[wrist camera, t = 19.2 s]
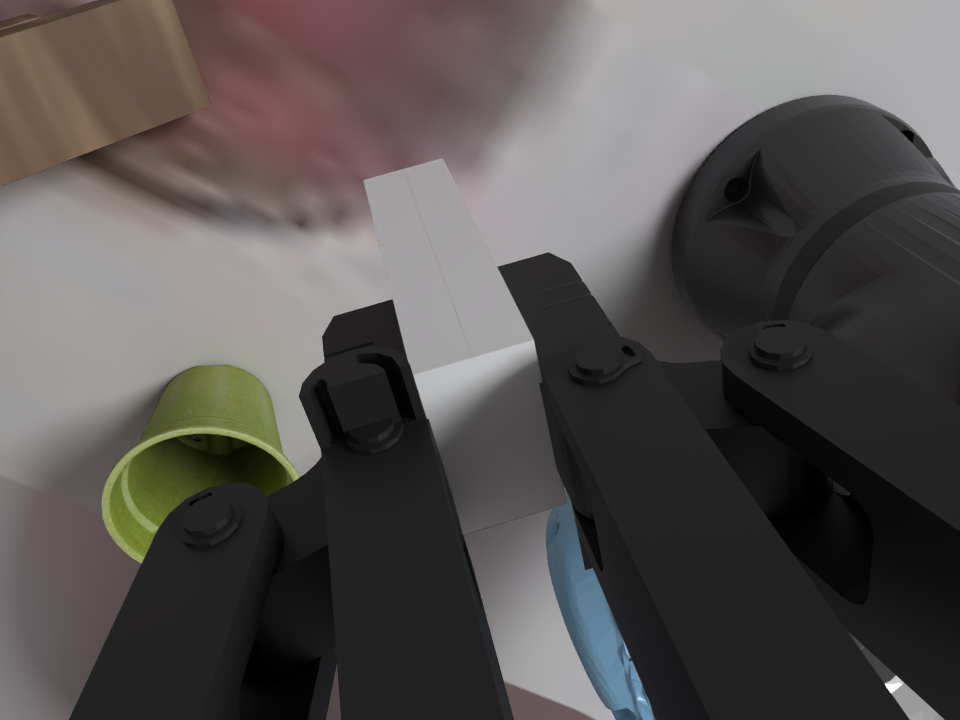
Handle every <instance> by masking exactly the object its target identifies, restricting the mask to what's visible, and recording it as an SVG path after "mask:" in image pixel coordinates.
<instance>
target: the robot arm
mask: <svg viewBox="0 0 960 720" xmlns="http://www.w3.org/2000/svg"><path fill="white" fill-rule="evenodd" d="M364 184H365V188H366V192H367V196H368V201H369V205H370V209H371V213H372V217H373V221H374V225H375V229H376V233H377V237H378V241H379V245H380V249H381V254H382V258H383V262H384V266H385V270H386V274H387V278H388V282H389V286H390V290H391V294H392V298H393V299H392V300H389V301H385V302H382V303H378V304H375V305H371V306H368V307H364V308H361V309H357V310H354V311H350V312H347V313H343V314H340V315H336V316H334V317H333V318H332V320H331V322H330V324H329V325H328V327H327V329H326V331H325V333H324V334H323V336H322V339H323V351H324V357H325V359H324V362H325V363H323V364H322V365H320V366H319V367H317V368H316V369H314V370H313V371H312V373H311V374H310V375H309V376H308V377H307V378H306V380H305V381H304V382H303V383H302V387H301V391H300V394H299V398H300V400H301V403H302V405H303V407H304V410H305V412H306V415H307V417H308V420H309V422H310V424H311V427H312V429H313V432H314V434H315V436H316V439H317V441H318V444H319V446H320V448H321V455H322V457H321V458H320V460H319V461H318V462H317V464H316V465H315V466H313V467H312V468H311V469H310V470H309V471H308V472H307V473H306V474H304V475H303V476H301V477H300V478H298V479H297V480H295V481H294V482H292V483H291V484H289V485H287V486H285V487H283V488H281V489H280V490H278V491H276V492H274V493H272V494H270V495H269V496H267V497H265V495H264V493H263V492H262V490H261V489H260V488H257V487H255V486H253V485H251V484H248V483H224V484H220V485H216V486H213V487H209V488H206V489H204V490H202V491H200V492H198V493H196V494H195V495H193V496H191V497H189V498H187V499H185V500H184V501H183V502H182V503H181V504H180V505H178V506H177V507H176V508H175V509H174V510H172V511H171V512H170V513H169V514H168V515H167V517H166V518H165V520H164V521H163V523H162V524H161V526H160V527H159V528H158V530H157V532H156V534H155V536H154V538H153V540H152V543H151V545H150V547H149V549H148V551H147V553H146V555H145V558H144V560H143V562H142V564H141V566H140V568H139V570H138V573H137V575H136V577H135V579H134V581H133V583H132V585H131V588H130V590H129V592H128V594H127V596H126V598H125V601H124V603H123V605H122V607H121V609H120V611H119V613H118V616H117V618H116V620H115V622H114V624H113V626H112V628H111V631H110V633H109V635H108V637H107V639H106V641H105V644H104V646H103V648H102V650H101V652H100V654H99V656H98V659H97V661H96V663H95V665H94V667H93V669H92V671H91V674H90V676H89V678H88V680H87V682H86V684H85V686H84V689H83V691H82V693H81V695H80V697H79V699H78V702H77V704H76V706H75V708H74V710H73V712H72V714H71V717H70V719H69V720H326V716H327V710H328V706H329V700H330V695H331V690H332V685H333V680H334V674H335V669H336V665H337V668H338V681H339V694H340V708H341V720H514V718H513V715H512V711H511V707H510V704H509V700H508V696H507V692H506V689H505V685H504V681H503V677H502V674H501V670H500V666H499V662H498V659H497V655H496V651H495V648H494V644H493V640H492V636H491V633H490V629H489V625H488V621H487V618H486V614H485V610H484V607H483V603H482V599H481V595H480V592H479V588H478V584H477V581H476V577H475V573H474V569H473V566H472V562H471V559H470V556H469V553H468V549H467V546H466V543H465V540H464V536H463V535H465V534H468V533H472V532H475V531H478V530H482V529H485V528H488V527H491V526H495V525H498V524H501V523H505V522H508V521H511V520H515V519H518V518H521V517H524V516H528V515H531V514H534V513H538V512H541V511H544V510H547V509H551V508H553V509H552V511H551V513H550V516H549V519H548V522H547V529H546V549H547V560H548V566H549V571H550V575H551V580H552V584H553V588H554V592H555V595H556V598H557V601H558V604H559V608H560V610H561V613H562V616H563V619H564V622H565V625H566V627H567V630H568V632H569V635H570V637H571V640H572V642H573V645H574V647H575V649H576V652H577V654H578V656H579V658H580V660H581V662H582V665H583V667H584V669H585V671H586V673H587V675H588V677H589V679H590V681H591V683H592V685H593V687H594V689H595V691H596V692H597V694H598V696H599V698H600V699H601V701H602V702H603V704H604V705H605V706H606V708H608V709H610V710H612V713H613V715H614V717H615V719H616V720H960V191H959V190H957V189H956V187H955V186H954V184H953V183H952V181H951V180H950V178H949V177H948V176H947V174H946V173H945V171H944V170H943V168H942V167H941V165H940V164H939V163H938V162H937V161H936V159H934V158H933V156H932V154H931V152H930V150H929V149H928V147H927V145H926V144H925V143H924V141H923V140H922V139H921V137H920V136H919V135H918V134H917V133H916V132H915V131H914V130H913V129H912V128H911V127H910V126H909V125H908V124H906V123H905V122H904V121H903V120H901V119H900V118H898V117H897V116H895V115H893V114H891V113H889V112H887V111H885V110H883V109H881V108H878V107H876V106H874V105H872V104H870V103H868V102H865V101H862V100H860V99H856V98H852V97H847V96H839V95H820V96H811V97H805V98H801V99H797V100H793V101H790V102H787V103H784V104H782V105H779V106H777V107H775V108H773V109H770V110H768V111H766V112H764V113H763V114H761V115H759V116H757V117H756V118H754V119H752V120H751V121H749V122H748V123H746V124H745V125H744V126H742V127H741V128H740V129H738V130H737V131H736V132H735V133H733V134H732V135H731V136H730V137H729V138H728V139H727V140H726V141H724V142H723V143H722V144H721V145H720V146H719V147H718V148H717V150H716V151H715V152H714V153H713V154H712V155H711V156H710V158H709V159H708V160H707V161H706V162H705V164H704V165H703V167H702V168H701V169H700V171H699V172H698V174H697V175H696V177H695V178H694V180H693V182H692V184H691V185H690V187H689V189H688V191H687V193H686V195H685V197H684V200H683V202H682V204H681V207H680V210H679V213H678V216H677V219H676V223H675V228H674V233H673V240H672V264H673V271H674V276H675V280H676V283H677V286H678V288H679V291H680V293H681V295H682V297H683V299H684V300H685V302H686V303H687V305H688V306H689V307H690V309H691V310H692V311H693V312H694V314H695V315H696V316H697V317H698V318H699V319H700V320H701V322H702V323H703V324H704V325H705V326H706V327H707V328H708V329H709V330H710V331H711V332H712V333H713V334H715V335H716V336H717V337H718V338H720V339H721V340H723V341H724V342H725V343H724V345H723V347H722V348H721V360H720V361H707V362H695V363H668V362H661V361H656V360H655V358H654V357H653V355H652V354H651V353H650V352H649V351H648V350H647V349H646V348H645V347H643V346H642V345H641V344H640V343H638V342H635V341H632V340H629V339H626V338H623V337H620V335H619V334H618V332H617V331H616V329H615V328H614V326H613V325H612V323H611V322H610V321H609V319H608V318H607V316H606V315H605V313H604V312H603V310H602V309H601V307H600V306H599V304H598V303H597V301H596V300H595V298H594V297H593V295H592V296H591V293H590V291H589V289H588V288H587V286H586V285H585V284H584V282H582V279H581V278H580V276H579V275H578V273H577V272H576V270H575V269H574V267H573V266H572V264H571V263H570V262H568V261H565V260H563V259H561V258H559V257H557V256H555V255H553V254H551V253H549V252H548V253H545V254H541V255H538V256H534V257H531V258H527V259H524V260H520V261H517V262H513V263H510V264H506V265H503V266H499V267H497V266H496V264H495V262H494V260H493V258H492V256H491V254H490V252H489V250H488V248H487V246H486V244H485V242H484V240H483V238H482V236H481V234H480V232H479V230H478V228H477V226H476V224H475V222H474V220H473V218H472V216H471V214H470V212H469V210H468V208H467V206H466V204H465V202H464V200H463V198H462V196H461V194H460V192H459V190H458V188H457V186H456V184H455V182H454V180H453V178H452V176H451V174H450V172H449V170H448V168H447V166H446V164H445V162H444V160H443V158H442V159H438V160H434V161H431V162H427V163H424V164H420V165H416V166H413V167H409V168H406V169H402V170H398V171H395V172H391V173H388V174H384V175H380V176H377V177H373V178H370V179H366V180H364ZM563 484H564V486H565V489H566V491H567V492H566V493H565V491H564V486H563Z"/></svg>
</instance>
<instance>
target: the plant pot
mask: <svg viewBox="0 0 960 720" xmlns="http://www.w3.org/2000/svg"><path fill="white" fill-rule="evenodd" d="M189 434H192V435H194V436H195V437H197V438H199V439H201V441H195V440H192V439H191V438H189V437H187V436H186V435H189ZM298 478H299V476H298V473H297V471H296V470H295V468H294V466H293V465H292V464H291V462H290V461H289V460H288V459H287V458H286V457H285V455H284V454H283V451H282V446H281V442H280V437H279V433H278V428H277V423H276V418H275V414H274V409H273V404H272V401H271V397H270V395H269V393H268V391H267V389H266V388H265V387H264V385H263V384H262V383H261V382H260V381H259V380H258V379H257V378H256V377H255V376H253V375H252V374H250V373H249V372H247V371H245V370H243V369H240V368H238V367H234V366H230V365H222V366H196V367H193V368H190V369H188V370H186V371H184V372H182V373H181V374H179V375H178V376H176V377H175V378H174V379H173V380H172V381H171V382H170V383H169V385H168V386H167V387H166V389H165V391H164V393H163V395H162V397H161V398H160V400H159V402H158V405H157V407H156V409H155V411H154V413H153V415H152V417H151V419H150V421H149V423H148V425H147V427H146V429H145V431H144V433H143V435H142V437H141V439H140V441H139V443H137V444H136V445H135V446H133V447H132V448H131V449H129V450H128V451H127V452H126V453H125V454H124V455H123V456H122V457H121V458H120V459H119V461H118V462H117V463H116V464H115V466H114V467H113V469H112V470H111V472H110V474H109V476H108V478H107V480H106V483H105V485H104V489H103V493H102V499H101V508H102V517H103V521H104V523H105V526H106V528H107V530H108V532H109V534H110V536H111V537H112V539H113V540H114V541H115V542H116V544H117V545H118V546H119V547H120V548H121V549H122V550H123V551H124V552H125V553H126V554H128V555H129V556H130V557H131V558H133V559H134V560H136V561H138V562H140V563H141V564H142V562H143V560H144V558H145V555H146V553H147V551H148V549H149V547H150V545H151V543H152V540H153V538H154V536H155V534H156V532H157V530H158V528H159V527H160V526H161V524H162V523H163V521H164V520H165V518H166V517H167V515H168V514H169V513H170V512H171V511H172V510H174V509H175V508H176V507H177V506H178V505H180V504H181V503H182V502H183V501H184V500H185V499H187V498H189V497H191V496H193V495H195V494H196V493H198V492H200V491H202V490H204V489H206V488H209V487H213V486H216V485H220V484H224V483H248V484H251V485H253V486H255V487H257V488H260V489H261V490H262V492H263V493H264V495H265V497H267V496H269V495H270V494H272V493H274V492H276V491H278V490H280V489H281V488H283V487H285V486H287V485H289V484H291V483H292V482H294V481H295V480H297V479H298Z"/></svg>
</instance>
